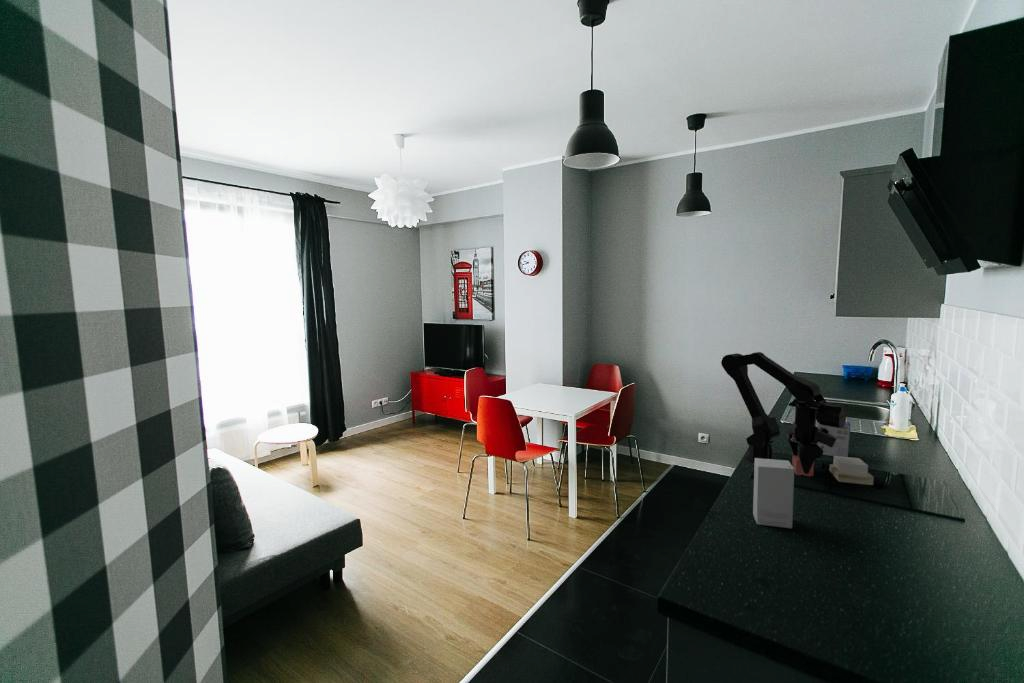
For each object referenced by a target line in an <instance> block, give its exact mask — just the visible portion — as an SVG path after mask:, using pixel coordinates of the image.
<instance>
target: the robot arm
mask: <svg viewBox="0 0 1024 683" xmlns="http://www.w3.org/2000/svg"><path fill="white" fill-rule="evenodd" d="M721 359H722V360H721V361H720V364H721V367H722V368H723V370H724V371H725V373H726V374H727V375H728V376H729V377H730V378H731V379H732V380H733V381H734V383H735V385H736V387H737V389H738V392H739V393H740V396H741V397H742V400H743V402H744V405H745V406H746V409H747V411H748V412H749V415H750V417H751V428H752V434H751V435H749V436H747V437H746V438H745V439H746V442H747V445H748V454H747V456H745V459H746V460H748V461H750V462H751V463H753V464H754V463H755V458H761V459H773V448H772V447H773V446H772V444H773V443H774V441H775V440H776V439H778V438H779V437H780V435H781V434H780V433H781V431H780V429H781V426H780V425H779V424H778V422H777V419H776V417H775V416H772V417H770V416H769V415H768V414H767V413H766V411H765V408H764V407H763V405H762V403H761V400H760V398H759V397H758V394H757V392H756V390H755V388H754V385H753V384H752V381H751V379H750V378H749V375H748V374H749V373H748V372H749V370H748V368H749V367H748V365H755V367H757V368H759V369H760V370H761V371H763V372H765V373H766V374H768V375H769V376H770V377H772V378H773V379H775V380H777V382H779V383H780V384H782V385H784V387H785V388H786V389H787V390H788V392H789V394H791V395H792V396H793V397H794V399H793V400H792V401H791V402H789V403H788V406H789V407H795V410H794V411H795V412H794V414H795V415H794V421H793V422H792V426H793V430H790V429H789V430H788V431H787V432H786V436H785V437H786V439H787V443H788V445H789V447H790V450H791V452H792V455H798V456H799V459H800V462H801V465H802V468H803V471H804V473H805V474H808V473H809V471H810V469H811V466H812V464H813V462H814V463H815V460H817V459H820V458H822V457H824V455H823V450H822V449H821V448H820V447H819V446H818V445H817V444H818V442H820V443H823V444H825V445H828V446H829V447H831V448H832V447H833V445H834V443H835V441H836V440H837V439H836V438H835V437H834V436H833V435H831V434H829V433H828V430H827V429H825V428H823V427H822V428H820V429H818V428H817V423H816V422H819V424H820V425H825V426H830V427H836V428H841V429H842V428H843V427H844V425H845V422H847V421H846V420H847V416H846V412H845V410H844V405H839V404H838V405H835V404H828V402H827V400H826V399H825V397H824V396H823V395H822V393H821V388H820V386H819V385H818V384H817V383H815V382H813V381H811V380H808V379H806V378H805V377H800V376H799V375H795V374H794V373H792V372H791V371H789V370H788V369H786V368H784V366H781V365H780V364H779V363H777V362H775V361H774V360H773V359H771V358H769V357H768V356H766V354H764V353H763V352H761V351H755V352H752V353H749V354H741V353H731V354H726V355H724V356H723V357H722V358H721Z"/></svg>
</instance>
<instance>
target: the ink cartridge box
mask: <svg viewBox="0 0 1024 683" xmlns="http://www.w3.org/2000/svg"><path fill="white" fill-rule="evenodd" d="M816 422H817V421H816ZM816 427H817V428H818V429H820V428H822V427H823V428H825V429H827V430H828V433H829V434H831V435H833V436H834V437H835V438H836V439H837V440H836V441H835V443H834V445H833V447H832V448H831V447H829V446H828V445H825V444H823V443H820V442H818V444H817V445H818V446H819V447H820V448H821V449H822V450H823V456H830V457H834V456H841V457H849V449H850V438H851V423H850V422H848V421H845V425H844V427H843V428H842V429H841V428H836V427H830V426H825V425H820V424H819V422H817V423H816Z"/></svg>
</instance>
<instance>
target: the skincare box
mask: <svg viewBox="0 0 1024 683" xmlns="http://www.w3.org/2000/svg"><path fill="white" fill-rule="evenodd" d="M753 466H754V468H753V469H754V470H753V471H754V472H753V473H754V474H753V477H754V478H753V499H752V500H753V501H752V504H753V505H752V514H753V518H754V520H755V522H756V525H760V526H768V527H775V528H776V527H777V528H784V529H785V528H786V529H793V518H794V517H793V515H794V510H793V509H794V492H795V491H794V489H795V488H794V487H795V486H794V485H795V474H794V471H795V469H794V468H793V466H792V463H791V462H790V461H789V460H785V459H773V458H772V459H761V458H755V463H753Z"/></svg>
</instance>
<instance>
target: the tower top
mask: <svg viewBox="0 0 1024 683" xmlns="http://www.w3.org/2000/svg"><path fill="white" fill-rule="evenodd" d="M832 464H833V465H834V466H835V467H836V468H837V469H838V470H839V471H840V472H842V473H852V474H861V475H867V473H869V470H868V469H869V465H868V464H867V463H866V462H864V461H863V460H862V459H861V458H860V457H850V456H848V457H841V456H833V462H832Z"/></svg>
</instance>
